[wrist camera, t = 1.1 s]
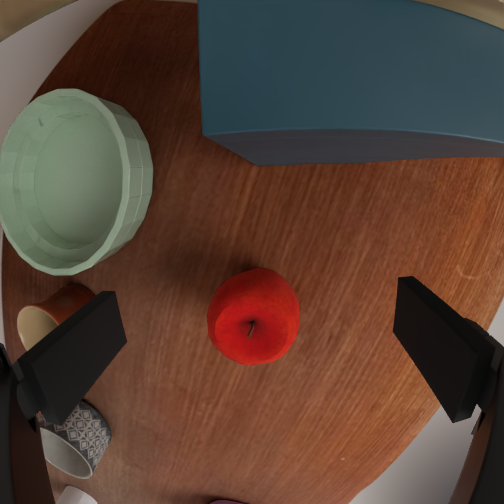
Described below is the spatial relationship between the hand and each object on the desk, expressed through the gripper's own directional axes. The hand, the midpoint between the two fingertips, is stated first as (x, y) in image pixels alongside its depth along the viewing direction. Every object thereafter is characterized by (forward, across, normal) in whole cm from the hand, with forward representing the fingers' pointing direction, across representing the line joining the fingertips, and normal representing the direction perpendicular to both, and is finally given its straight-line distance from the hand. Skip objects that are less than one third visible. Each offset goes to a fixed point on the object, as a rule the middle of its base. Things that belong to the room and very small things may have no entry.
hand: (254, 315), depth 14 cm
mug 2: (+22, -55, -70) cm, 91 cm away
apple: (+22, -1, -7) cm, 23 cm away
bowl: (+22, -22, +8) cm, 32 cm away
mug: (+22, -24, -10) cm, 34 cm away
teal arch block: (+22, +5, +12) cm, 25 cm away
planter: (+22, -34, -32) cm, 52 cm away
